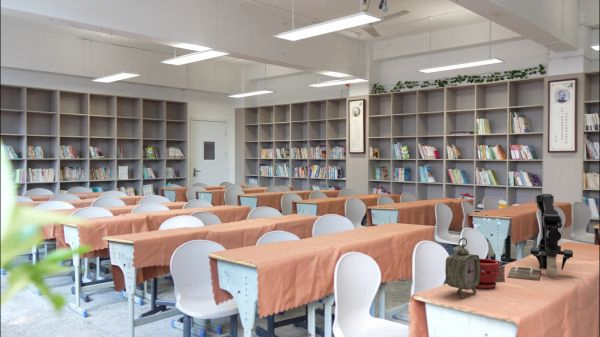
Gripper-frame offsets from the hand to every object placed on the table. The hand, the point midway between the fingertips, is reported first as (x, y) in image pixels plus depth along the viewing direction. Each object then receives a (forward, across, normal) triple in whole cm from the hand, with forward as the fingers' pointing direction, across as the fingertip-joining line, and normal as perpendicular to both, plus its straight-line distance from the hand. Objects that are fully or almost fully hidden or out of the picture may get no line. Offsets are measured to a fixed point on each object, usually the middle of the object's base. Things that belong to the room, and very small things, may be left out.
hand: (551, 269), depth 243 cm
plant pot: (+3, -27, -35) cm, 44 cm away
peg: (+3, 0, 0) cm, 3 cm away
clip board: (+3, -12, -4) cm, 13 cm away
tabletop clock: (+3, -33, -53) cm, 63 cm away
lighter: (+3, -23, -23) cm, 33 cm away
